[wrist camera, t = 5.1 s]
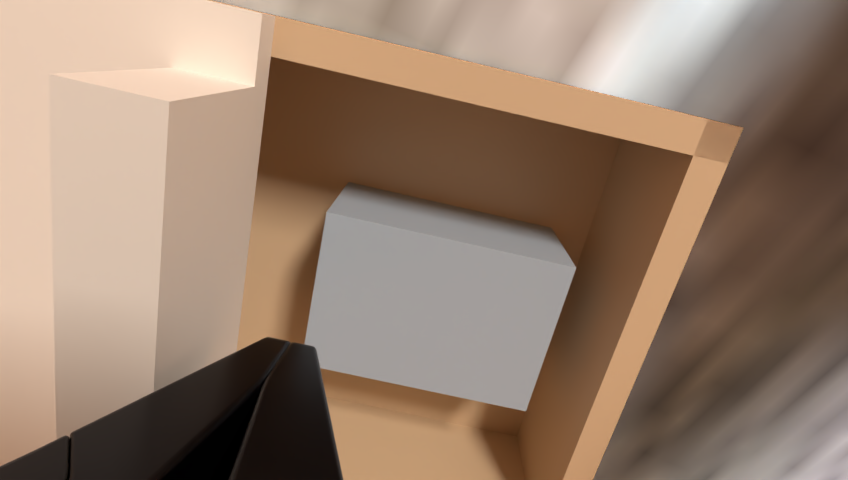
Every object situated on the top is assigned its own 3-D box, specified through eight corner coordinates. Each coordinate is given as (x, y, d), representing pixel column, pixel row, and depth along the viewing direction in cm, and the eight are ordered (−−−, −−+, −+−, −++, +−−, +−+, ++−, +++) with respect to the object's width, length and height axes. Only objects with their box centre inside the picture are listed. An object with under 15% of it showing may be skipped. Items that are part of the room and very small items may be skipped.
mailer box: (650, 105, 12) (743, 128, 8) (527, 442, 16) (555, 567, 12) (45, -40, 12) (-146, -84, 8) (54, 344, 15) (-77, 442, 11)
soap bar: (551, 228, 13) (576, 267, 10) (511, 350, 14) (525, 411, 11) (348, 181, 12) (326, 211, 10) (325, 310, 14) (300, 364, 11)
